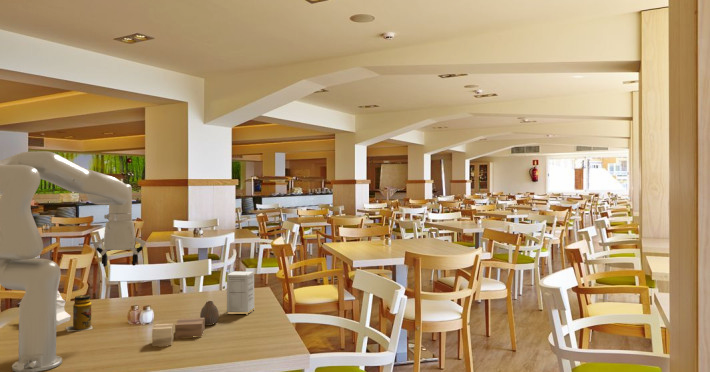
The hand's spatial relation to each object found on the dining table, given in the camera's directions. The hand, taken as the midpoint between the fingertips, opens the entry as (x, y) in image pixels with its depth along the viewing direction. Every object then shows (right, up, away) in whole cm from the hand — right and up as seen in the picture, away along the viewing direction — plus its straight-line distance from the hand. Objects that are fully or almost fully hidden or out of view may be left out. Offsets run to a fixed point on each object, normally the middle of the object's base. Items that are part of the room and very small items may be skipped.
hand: (119, 265), depth 188 cm
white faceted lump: (-35, -25, +16) cm, 45 cm away
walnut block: (+25, -25, 0) cm, 36 cm away
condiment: (-18, -25, +7) cm, 32 cm away
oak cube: (+20, -25, -11) cm, 34 cm away
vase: (+28, -25, +14) cm, 41 cm away
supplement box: (+36, -25, +34) cm, 56 cm away
